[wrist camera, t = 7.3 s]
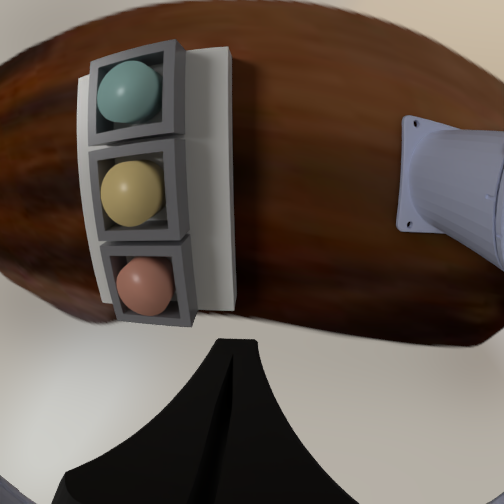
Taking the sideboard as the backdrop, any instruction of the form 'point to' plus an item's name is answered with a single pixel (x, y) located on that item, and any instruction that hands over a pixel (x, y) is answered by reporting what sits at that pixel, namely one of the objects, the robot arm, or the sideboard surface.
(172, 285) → the brick button
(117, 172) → the ochre button
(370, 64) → the sideboard surface
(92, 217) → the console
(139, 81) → the teal button
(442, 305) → the sideboard surface
